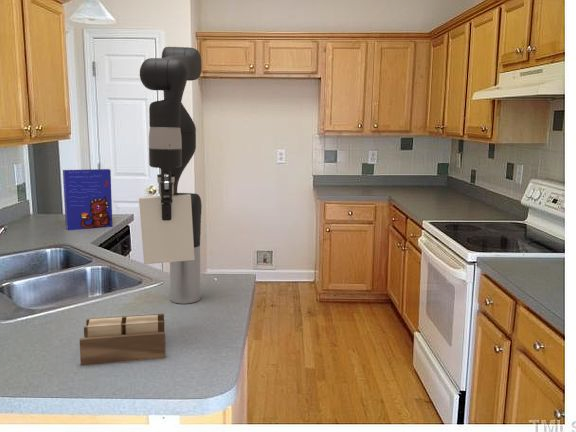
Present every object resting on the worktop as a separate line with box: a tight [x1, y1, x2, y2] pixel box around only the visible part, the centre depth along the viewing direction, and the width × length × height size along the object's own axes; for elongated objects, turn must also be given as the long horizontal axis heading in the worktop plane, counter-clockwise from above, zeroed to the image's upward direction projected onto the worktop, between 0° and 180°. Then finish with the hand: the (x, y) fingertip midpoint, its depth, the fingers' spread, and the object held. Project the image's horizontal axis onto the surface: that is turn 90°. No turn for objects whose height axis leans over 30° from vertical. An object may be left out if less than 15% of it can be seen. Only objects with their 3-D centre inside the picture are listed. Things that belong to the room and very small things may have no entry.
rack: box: [79, 313, 166, 366], centre depth 118 cm, size 13×18×7 cm
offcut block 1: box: [87, 316, 123, 338], centre depth 115 cm, size 4×7×8 cm, turn 105°
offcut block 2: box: [126, 314, 158, 335], centre depth 117 cm, size 4×7×8 cm, turn 105°
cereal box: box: [62, 168, 114, 231], centre depth 259 cm, size 22×6×30 cm, turn 122°
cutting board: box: [138, 194, 195, 265], centre depth 123 cm, size 2×12×16 cm, turn 105°
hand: (166, 218), depth 122 cm, fingers closed on cutting board, 2 cm apart
